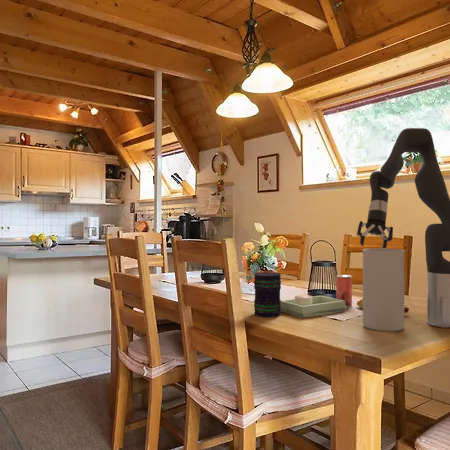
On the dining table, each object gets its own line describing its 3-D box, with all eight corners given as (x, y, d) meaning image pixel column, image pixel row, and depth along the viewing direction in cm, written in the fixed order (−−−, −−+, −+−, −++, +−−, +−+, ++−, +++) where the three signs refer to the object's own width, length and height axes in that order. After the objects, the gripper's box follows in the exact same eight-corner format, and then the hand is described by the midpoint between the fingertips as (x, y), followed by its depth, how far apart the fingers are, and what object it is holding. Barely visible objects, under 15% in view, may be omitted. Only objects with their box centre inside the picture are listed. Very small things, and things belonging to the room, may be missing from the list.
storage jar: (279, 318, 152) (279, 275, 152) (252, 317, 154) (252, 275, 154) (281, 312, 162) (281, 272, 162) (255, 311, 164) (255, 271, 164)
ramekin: (314, 310, 158) (314, 298, 158) (297, 310, 157) (297, 298, 157) (309, 306, 164) (309, 294, 164) (292, 307, 164) (292, 295, 163)
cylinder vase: (371, 320, 148) (371, 247, 147) (409, 326, 140) (409, 249, 139) (356, 328, 138) (356, 250, 138) (396, 334, 130) (396, 251, 130)
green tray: (320, 305, 174) (320, 295, 174) (345, 311, 163) (345, 300, 163) (279, 311, 163) (279, 300, 163) (303, 318, 152) (303, 306, 152)
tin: (354, 306, 171) (354, 276, 171) (339, 307, 170) (339, 276, 170) (348, 303, 177) (348, 274, 177) (334, 304, 176) (334, 274, 176)
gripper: (362, 206, 185) (356, 241, 179) (396, 212, 182) (392, 247, 176) (359, 213, 192) (354, 247, 186) (392, 219, 189) (388, 253, 183)
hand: (372, 247), depth 181 cm, fingers open, 8 cm apart
